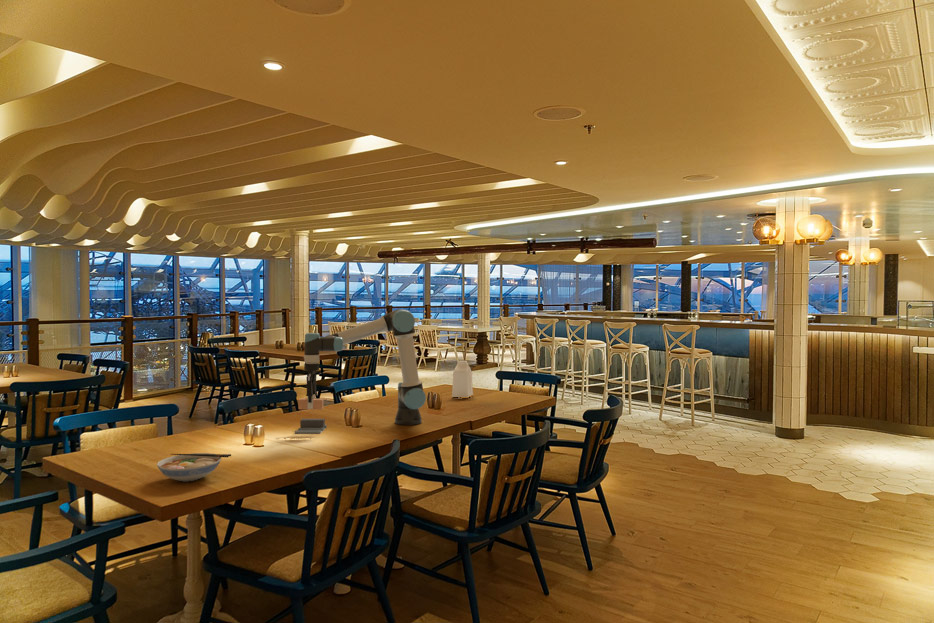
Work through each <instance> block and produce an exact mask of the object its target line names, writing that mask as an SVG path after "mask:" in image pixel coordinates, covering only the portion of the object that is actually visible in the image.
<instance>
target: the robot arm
mask: <svg viewBox="0 0 934 623" xmlns="http://www.w3.org/2000/svg"><path fill="white" fill-rule="evenodd" d="M415 322H416V320H415V317H414V314H413V313H412V312H411V311H410V310H407V309H395V310H393V311H391V312H389V313H387V314H384V315H381V316H380V317H379V318H377V319H374V320H371V321H368V322H366V323H365V322H364V323H362V324H360V325H357V326H353V327H350V328H347V329H344V330H342V331H339V332H335V333H333V334H327V335H325V336H320V333H319V332H307V333H305V334H304V341H303V342H304V356H303V359H304V360H303V361H304V364H303V370H304V371H305V372H307V374H306V394H305V397H307V399H308V404H307V409H306V410H311V409H313V399H316V395H317V394H318V393H317V376H318V374H317V373H316V371H319V370H320V363H319V362H320V352H342V351H343V350H344V348H343V347H344V346H345V345H347V344H351V343H353V342H357V341H360V340H362V339H366V338H368V337H372V336H374V335H378V334H380V333H381V334H382V333H384V332H386V333H389V332H392V334H393V337H394V338H396V342H397V348H398V356H399V362H400V370H401V376H402V382H398V385H397V411H396V414H395V417H394V423H395V424H397V425H403V426H413V425H420V424H422V422H423V421H422V415H421V412H420V408H422V407H423V406H424V405H425V403H426V399H427V395H426V392H425V391H424V386H423V382H422V381H421V380H420V378H419V373H418V366H417V359H416V358H417V357H416V352H415V343H414V335H415V334H416V333H415V332H416V331H415V330H416V329H415V324H416V323H415Z"/></svg>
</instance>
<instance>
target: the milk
mask: <svg viewBox="0 0 934 623" xmlns="http://www.w3.org/2000/svg"><path fill="white" fill-rule="evenodd" d="M451 392H452V393H451V394H452V395H451V398H452V397H469V396H471V395H473V396H474V390H473V372H472V368H471V366H470V364H468V361H467V360H458V361H457V364H456V366H455V368H454V370H453V373H452V391H451Z"/></svg>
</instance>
